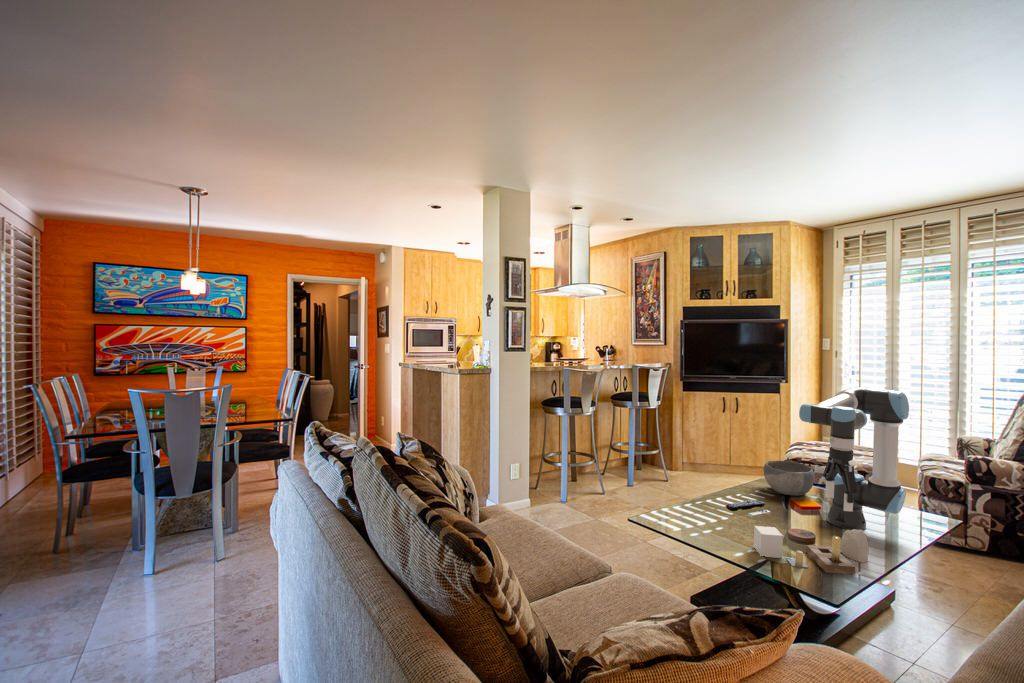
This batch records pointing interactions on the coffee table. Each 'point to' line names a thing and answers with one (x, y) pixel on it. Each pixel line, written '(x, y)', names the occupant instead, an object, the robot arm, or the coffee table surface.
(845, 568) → the socket board
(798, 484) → the bowl
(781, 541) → the cube
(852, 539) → the stone
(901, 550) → the coffee table surface
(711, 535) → the coffee table surface
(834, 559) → the pin
